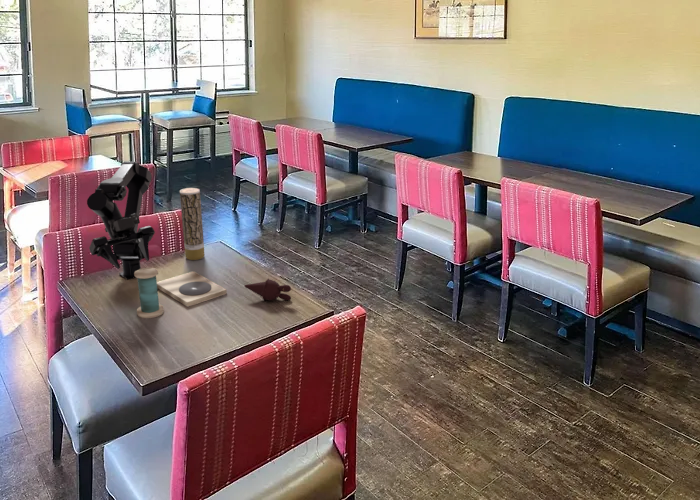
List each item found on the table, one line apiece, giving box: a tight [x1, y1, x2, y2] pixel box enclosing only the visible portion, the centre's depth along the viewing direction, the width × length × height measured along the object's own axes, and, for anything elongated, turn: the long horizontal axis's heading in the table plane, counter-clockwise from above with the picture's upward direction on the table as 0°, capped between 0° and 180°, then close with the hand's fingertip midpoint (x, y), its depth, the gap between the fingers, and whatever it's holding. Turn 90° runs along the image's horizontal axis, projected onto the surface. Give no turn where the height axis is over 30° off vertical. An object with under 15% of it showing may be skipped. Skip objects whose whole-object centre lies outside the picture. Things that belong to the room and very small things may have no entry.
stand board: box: [157, 271, 228, 307], centre depth 206 cm, size 20×14×2 cm
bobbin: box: [134, 267, 165, 319], centre depth 189 cm, size 8×8×13 cm
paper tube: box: [179, 187, 205, 261], centre depth 229 cm, size 7×7×25 cm
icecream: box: [244, 278, 292, 302], centre depth 200 cm, size 7×7×15 cm
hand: (133, 264), depth 192 cm, fingers open, 9 cm apart
